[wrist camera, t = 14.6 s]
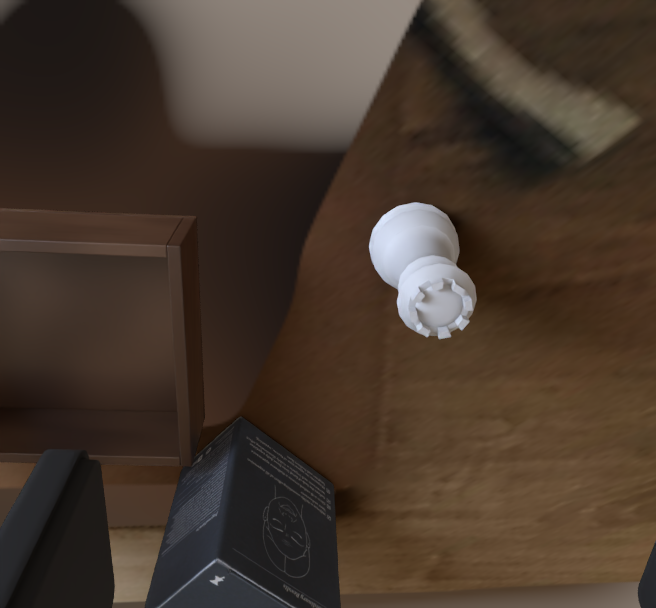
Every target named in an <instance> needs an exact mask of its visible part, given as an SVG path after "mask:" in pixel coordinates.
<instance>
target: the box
mask: <svg viewBox="0 0 656 608" xmlns="http://www.w3.org/2000/svg"><path fill="white" fill-rule="evenodd" d="M145 608H341V603H340V589H339V573H338V552H337V536H336V517H335V497H334V485H333V484H332V483H331V482H330V481H328V480H327V479H325V478H324V477H323V476H321V475H320V474H319V473H317V472H316V471H315V470H313V469H312V468H311V467H309V466H308V465H307V464H305V463H304V462H303V461H301V460H300V459H298V458H297V457H296V456H294V455H293V454H292V453H290V452H289V451H288V450H286V449H285V448H284V447H282V446H281V445H279V444H278V443H277V442H275V441H274V440H273V439H271V438H270V437H269V436H267V435H266V434H265V433H263V432H262V431H260V430H259V429H258V428H256V427H255V426H254V425H252V424H251V423H250V422H248V421H247V420H246V419H244V418H243V417H239V418H238V419H236V420H235V421H234V422H233V423H232V424H231V425H230V426H229V427H227V428H226V429H225V430H224V431H223V432H222V433H221V434H220V435H218V436H217V437H216V438H215V439H214V440H213V441H212V442H211V443H209V444H208V445H207V446H206V447H205V448H204V449H203V450H202V451H201V452H200V453H199V454H197V455H196V456H195V457H194V461H193V465H192V466H191V467H189V466H184V467H183V469H182V470H181V473H180V477H179V481H178V485H177V489H176V492H175V496H174V499H173V503H172V506H171V510H170V514H169V517H168V522H167V525H166V529H165V533H164V537H163V540H162V544H161V547H160V551H159V555H158V559H157V562H156V565H155V569H154V573H153V576H152V581H151V585H150V589H149V592H148V595H147V599H146V604H145Z"/></svg>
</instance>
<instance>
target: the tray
mask: <svg viewBox="0 0 656 608" xmlns="http://www.w3.org/2000/svg"><path fill="white" fill-rule="evenodd" d="M203 387H204V386H203V362H202V339H201V315H200V291H199V265H198V242H197V218H196V216H181V215H157V214H132V213H131V214H129V213H107V212H82V211H58V210H34V209H9V208H8V209H7V208H0V462H13V463H37V462H38V460H39V459H40V457H41V455H42V454H43V453H44V451H45V450H47V449H71V450H86V451H87V453H88V456H89V460H99V462H100V464H101V465H145V466H189V467H191V466H192V465H193V461H194V457H195V453H196V449H197V446H198V442H199V438H200V434H201V430H202V426H203V422H204V418H205V412H204V388H203Z"/></svg>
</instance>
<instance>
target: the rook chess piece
mask: <svg viewBox="0 0 656 608" xmlns="http://www.w3.org/2000/svg"><path fill="white" fill-rule="evenodd" d="M369 249H370V255H371V260H372V263H373V264H374V266H375V269H376V270H377V272H378V273H379V275H380V276H381V277H382V279H383V280H384V281H385V282H386V283H388V284H390V285H391V286H393V287H395V288H396V289H398V291H399V295H398V299H397V305H398V311H399V316H400V317H401V318H402V320H403V321H404V323H405V324H406V325H407V327H409V328H411V329H412V330H414V331H416V332H417V333H419V334H423V335H424V336H426V337H428V335H431V336H437V335H438V337H439V339H443V338H448V337H451V335H450V332H452V331H454V330H456V329H457V328H460V329H461V330H463V329H464V328H465V326H466V325H467V324H468V323H469V322H470V321H469V319H468V318H469V317H470V316H471V315H472V313H473V310H474V307H475V304H476V301H477V298H476V290H475V285H474V284H473V282H472V280H471V279H470V277H469V276H468V274H467V273H465V272H463V271H462V270H460V269H459V268H458V267H457V266H456V263H457V259H458V256H459V251H460V250H459V242H458V235H457V233H456V231H455V227H454V226H453V224H452V223H451V221H450V219H449V218H448V216H447V215H446V214H445V213H443V212H442V211H440V210H439V209H437V208H436V207H434V206H433V205H427V204H422V203H416V202H415V203H410V204H405V205H400V206H397V207H396V208H394V209H392V210H391V211H389V212H388V213H386V214H385V215H383V216H382V218H381V219H380V220H379V222H378V223H377V225H376V226H375V227H374V229H373V231H372V235H371V239H370V244H369Z"/></svg>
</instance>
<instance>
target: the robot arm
mask: <svg viewBox="0 0 656 608" xmlns="http://www.w3.org/2000/svg"><path fill="white" fill-rule="evenodd" d="M114 589H115V584H114V574H113V565H112V557H111V548H110V540H109V531H108V524H107V514H106V506H105V497H104V488H103V480H102V471H101V465H100V462H99V460H89V456H88V453H87V451H86V450H71V449H47V450H45V451H44V453H43V454H42V455H41V457H40V459H39V460H38V462H37V464H36V466H35V467H34V469H33V471H32V473H31V475H30V476H29V478H28V480H27V482H26V483H25V485H24V487H23V489H22V490H21V492H20V494H19V496H18V498H17V499H16V501H15V503H14V505H13V507H12V508H11V510H10V512H9V513H8V515H7V517H6V519H5V520H4V522H3V524H2V526H1V528H0V608H112V604H113V599H114ZM638 598H639V603H640V606H641V608H656V542H655V544H654V547H653V549H652V552H651V555H650V557H649V560H648V562H647V565H646V568H645V570H644V573H643V575H642V578H641V580H640V583H639V587H638Z"/></svg>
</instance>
